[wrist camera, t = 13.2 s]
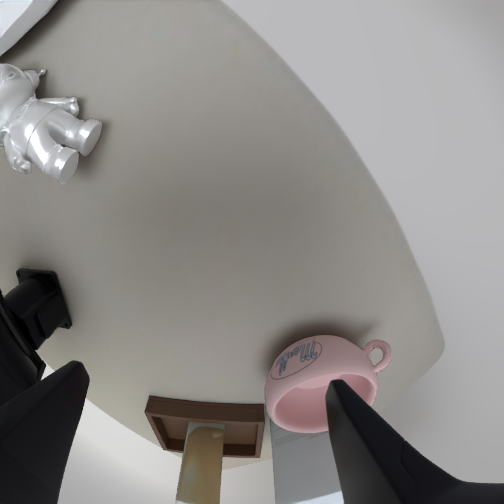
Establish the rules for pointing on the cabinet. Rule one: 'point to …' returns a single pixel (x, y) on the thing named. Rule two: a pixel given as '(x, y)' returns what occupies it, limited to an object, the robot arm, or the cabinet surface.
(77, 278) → the cabinet surface
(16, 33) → the candle holder
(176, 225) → the cabinet surface
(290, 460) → the white packaging box
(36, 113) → the figurine
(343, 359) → the mug
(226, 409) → the tray
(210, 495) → the cosmetic box
